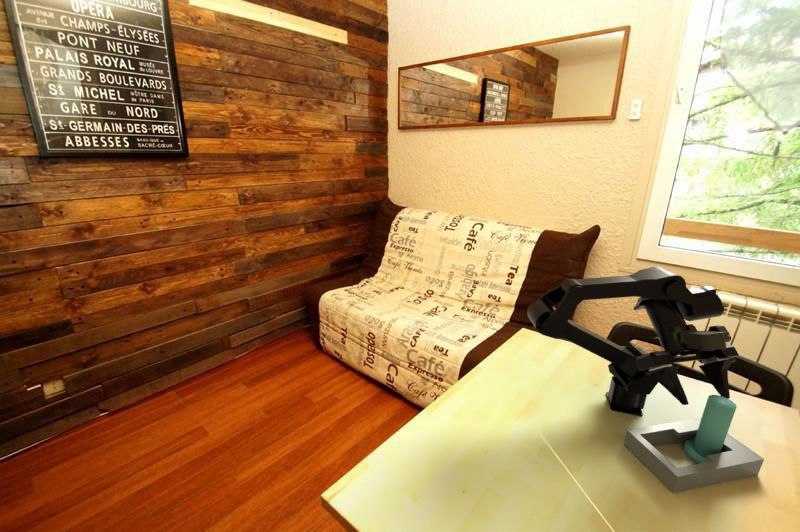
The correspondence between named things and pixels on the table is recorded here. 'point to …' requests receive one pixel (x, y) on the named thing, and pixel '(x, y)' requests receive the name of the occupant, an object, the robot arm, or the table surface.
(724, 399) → the peg
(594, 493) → the table surface
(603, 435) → the table surface
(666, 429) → the keyhole plate
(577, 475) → the table surface
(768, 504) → the table surface
